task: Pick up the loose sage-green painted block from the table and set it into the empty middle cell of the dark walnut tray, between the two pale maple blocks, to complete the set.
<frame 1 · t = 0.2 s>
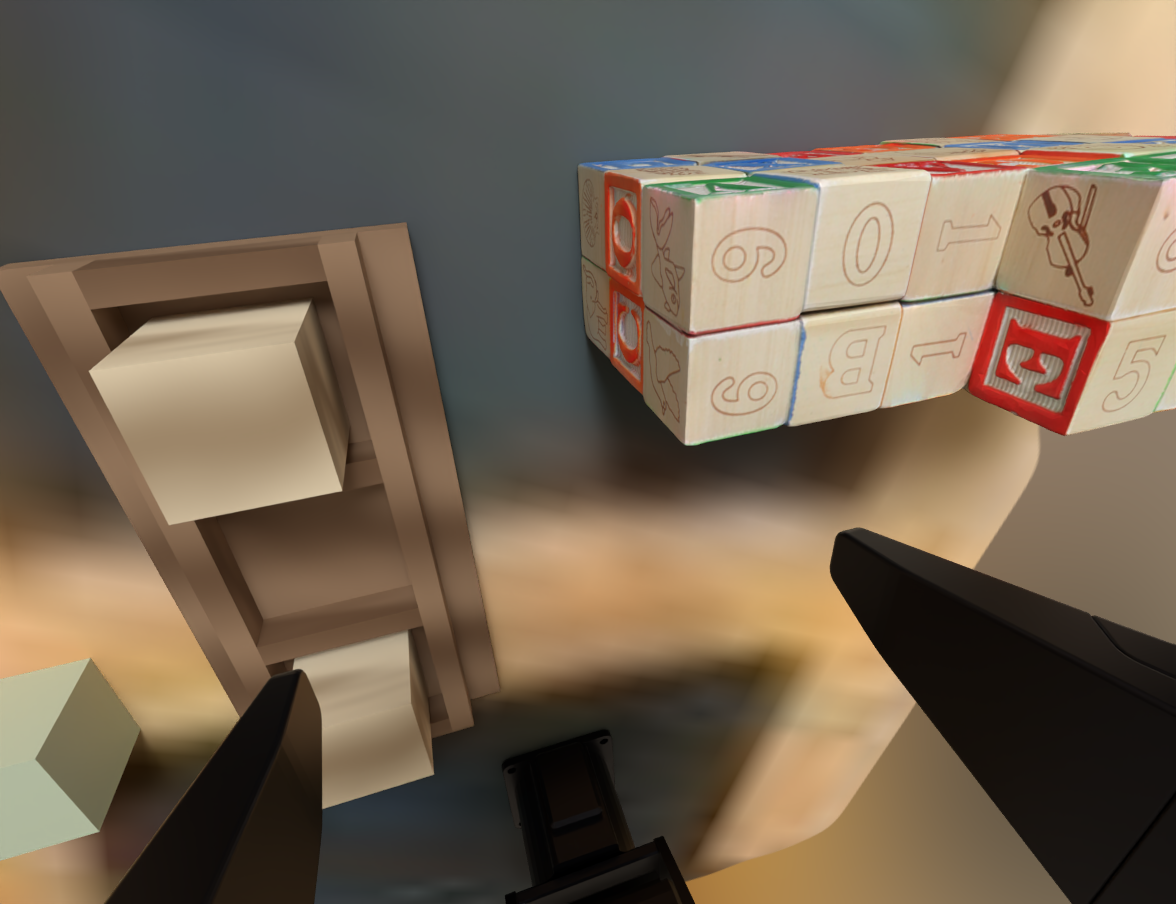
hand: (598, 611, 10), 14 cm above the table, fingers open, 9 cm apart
sage block: (54, 709, 24), on the table
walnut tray: (323, 528, 23), on the table
maple block 1: (259, 375, 19), point 1 cm above the table, touching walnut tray
stack of blocks: (827, 229, 24), on the table
maple block 2: (366, 666, 26), point 1 cm above the table, touching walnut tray
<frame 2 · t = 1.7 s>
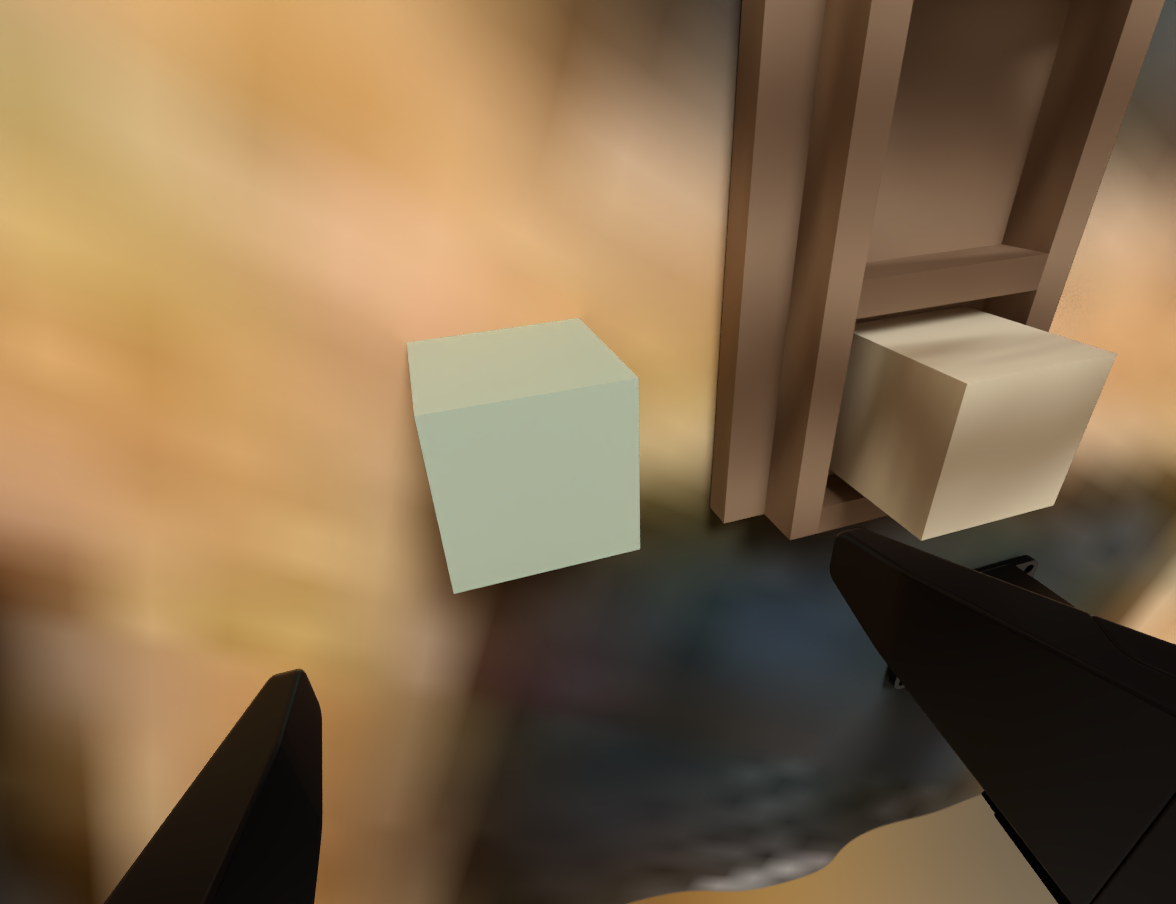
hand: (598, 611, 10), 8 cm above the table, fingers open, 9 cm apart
sage block: (505, 406, 16), on the table
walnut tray: (914, 135, 16), on the table
maple block 2: (888, 385, 19), point 1 cm above the table, touching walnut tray
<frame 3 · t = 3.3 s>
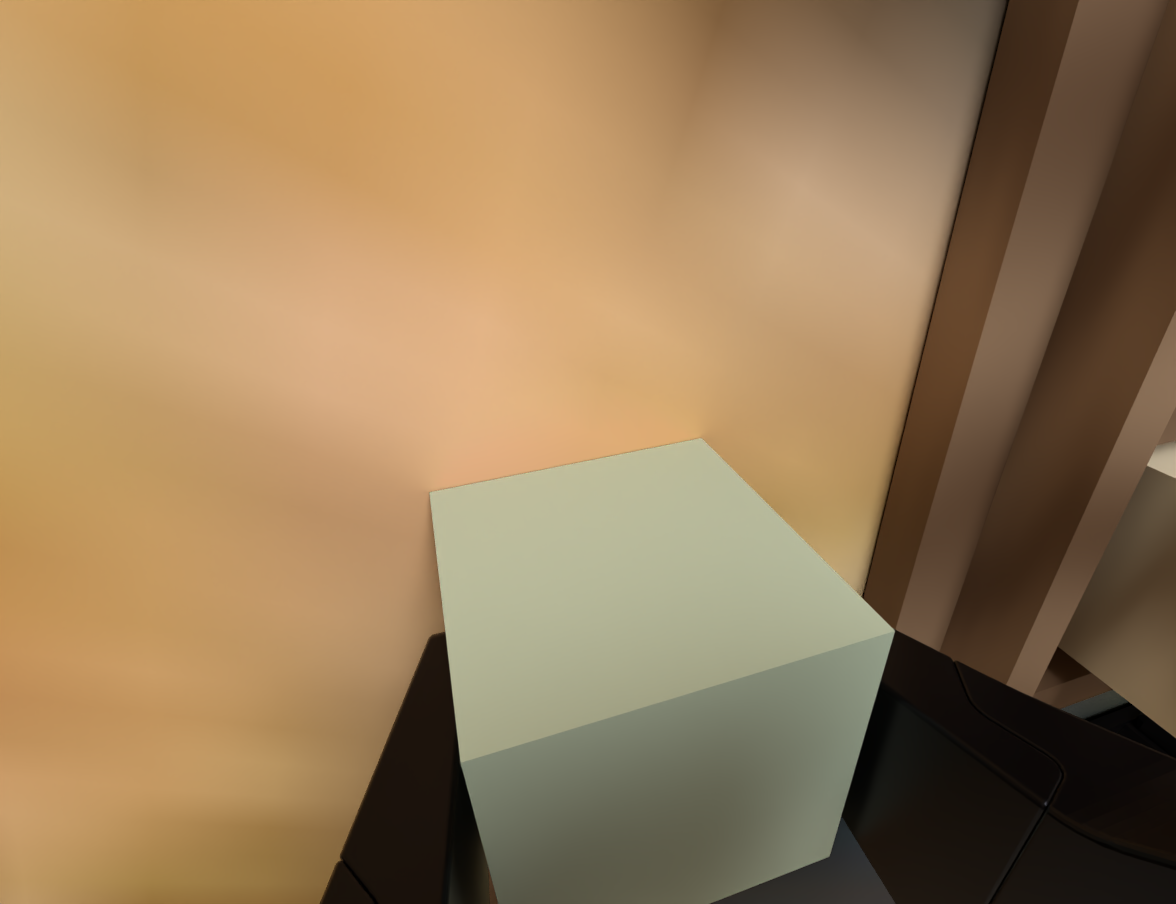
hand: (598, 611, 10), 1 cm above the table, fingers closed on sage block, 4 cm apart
sage block: (580, 571, 11), on the table, touching gripper
maple block 2: (1124, 508, 13), point 1 cm above the table, touching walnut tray
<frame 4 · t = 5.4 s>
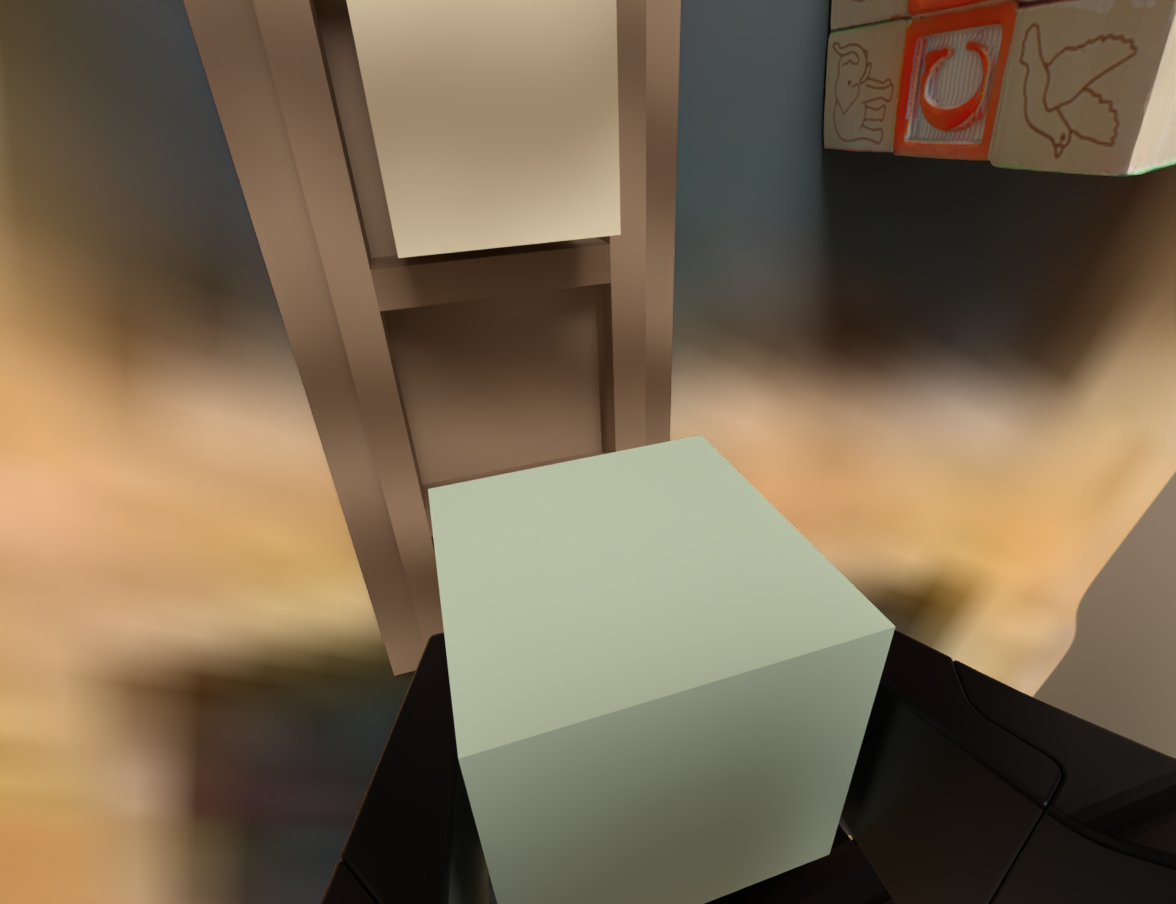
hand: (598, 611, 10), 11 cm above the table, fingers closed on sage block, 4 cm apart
sage block: (580, 568, 10), point 10 cm above the table, touching gripper
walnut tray: (499, 371, 19), on the table
maple block 1: (470, 118, 14), point 1 cm above the table, touching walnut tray
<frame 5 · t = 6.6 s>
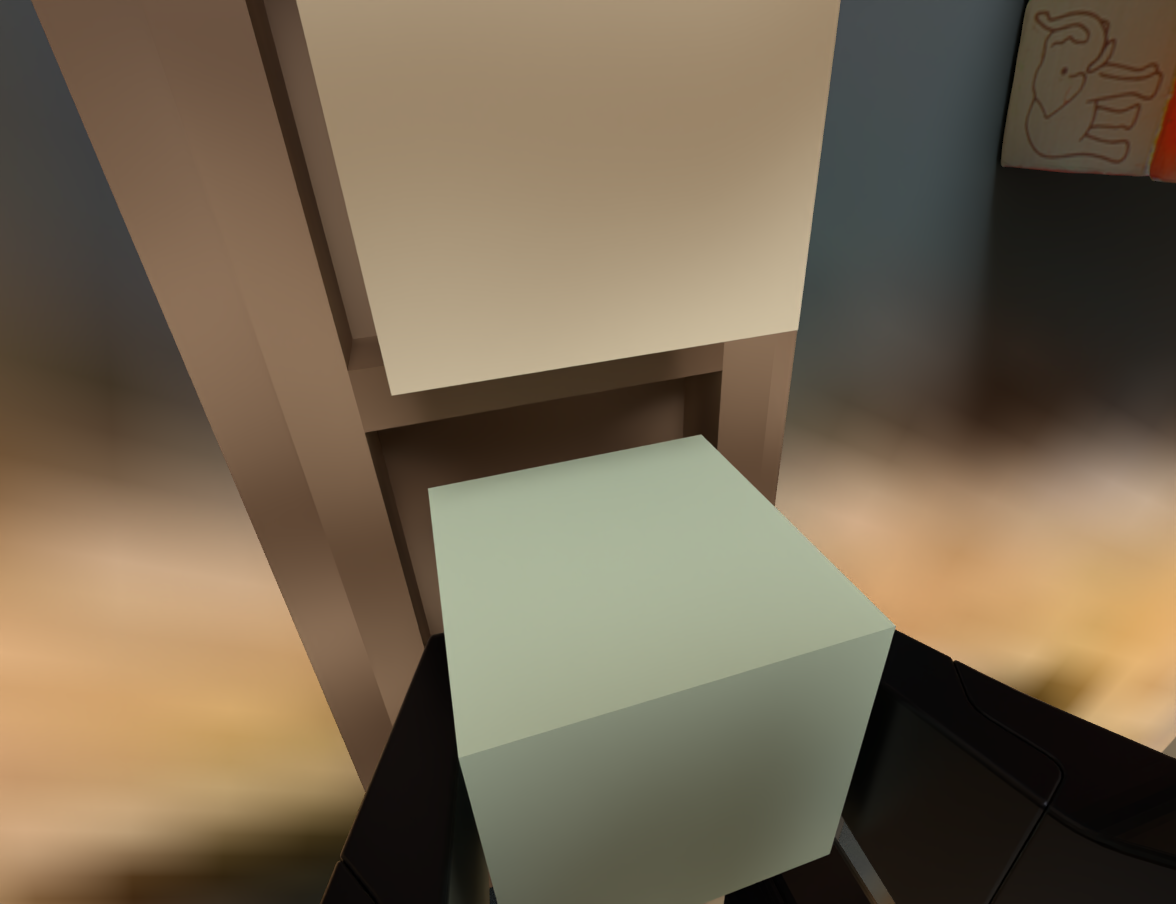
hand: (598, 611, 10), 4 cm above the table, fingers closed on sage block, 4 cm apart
sage block: (580, 568, 10), point 3 cm above the table, touching gripper
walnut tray: (539, 477, 13), on the table
maple block 1: (510, 118, 9), point 1 cm above the table, touching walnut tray
when the fingers open (4 cm above the table, at t = 7.3 s): sage block drops 2 cm, resting on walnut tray.
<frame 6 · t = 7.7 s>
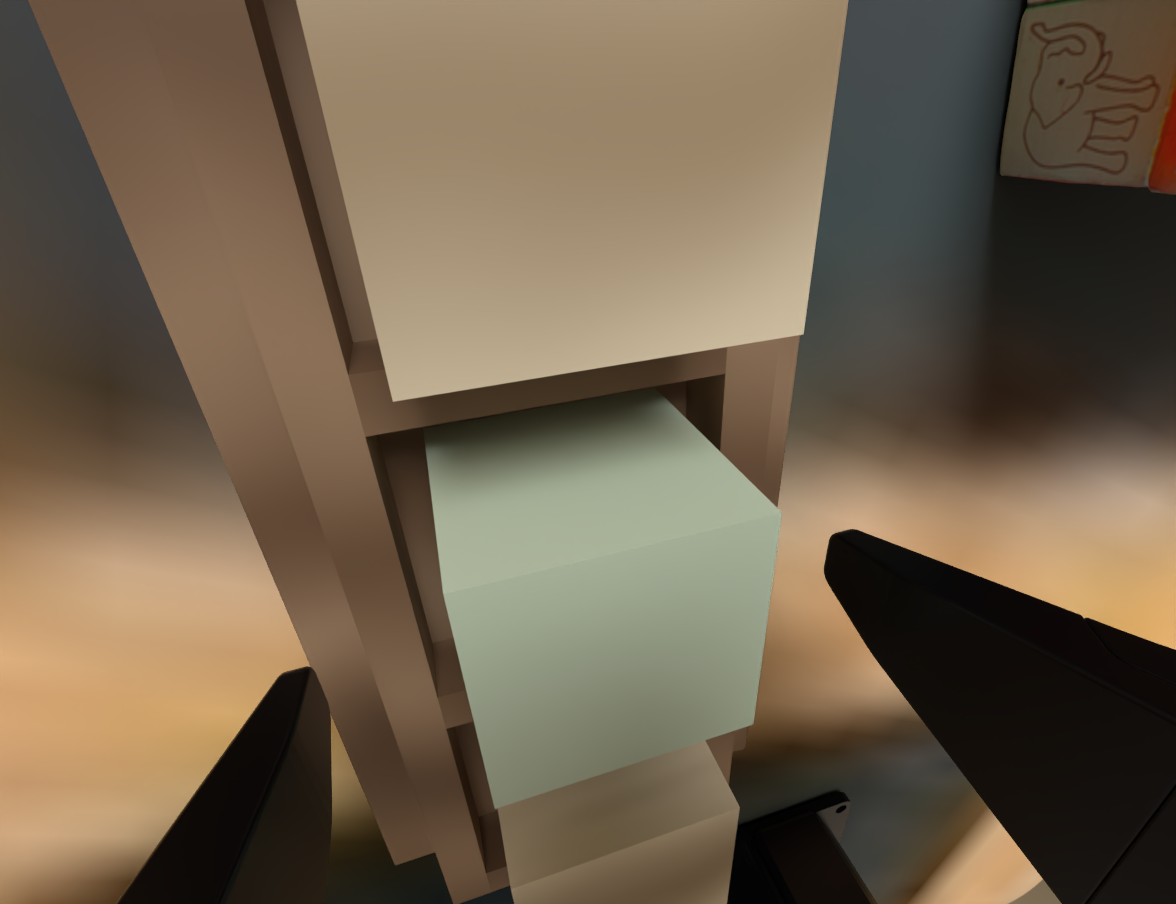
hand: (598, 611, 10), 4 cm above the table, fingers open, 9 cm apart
sage block: (553, 503, 12), point 1 cm above the table, touching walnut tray
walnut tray: (541, 480, 13), on the table
maple block 1: (512, 120, 9), point 1 cm above the table, touching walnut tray
maple block 2: (573, 718, 16), point 1 cm above the table, touching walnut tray
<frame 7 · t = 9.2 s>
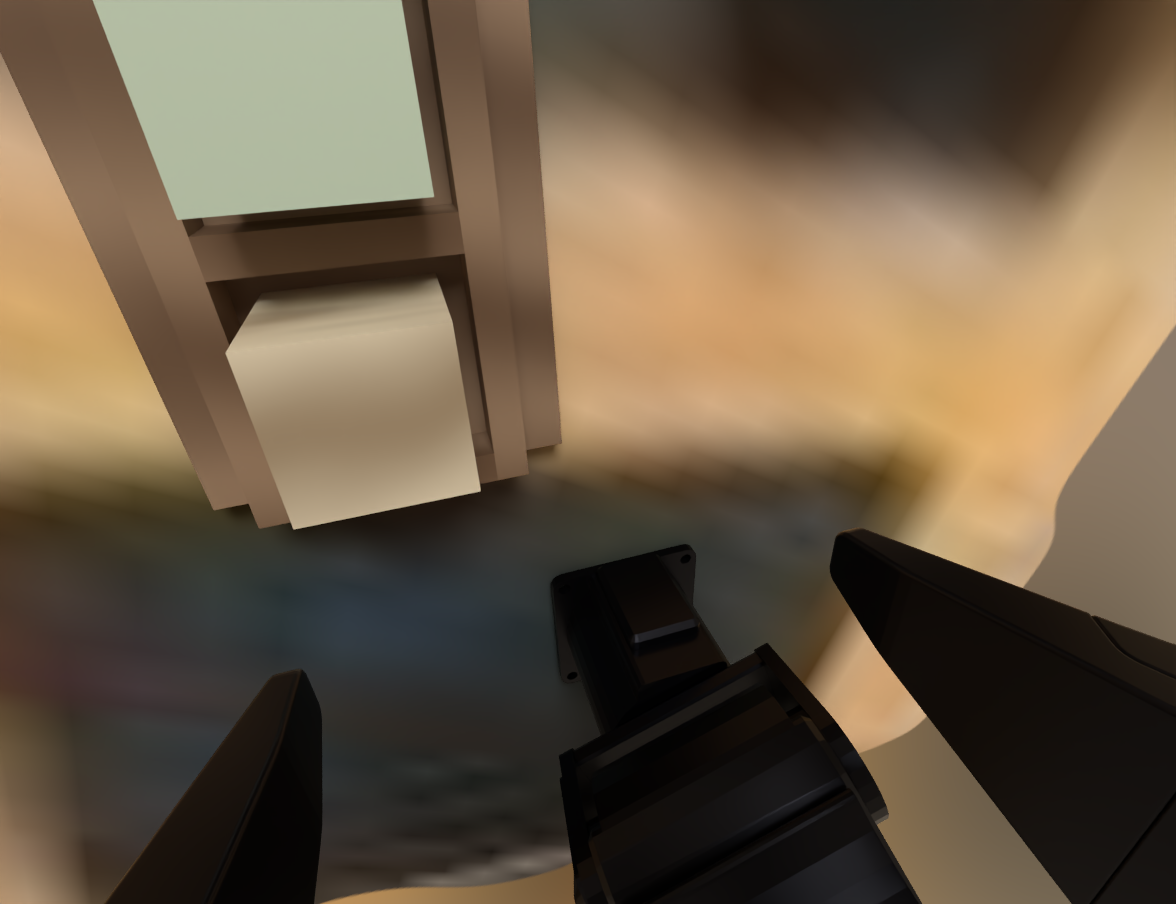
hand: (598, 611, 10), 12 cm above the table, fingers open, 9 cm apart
sage block: (301, 74, 13), point 1 cm above the table, touching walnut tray
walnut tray: (303, 76, 14), on the table
maple block 2: (370, 360, 17), point 1 cm above the table, touching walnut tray
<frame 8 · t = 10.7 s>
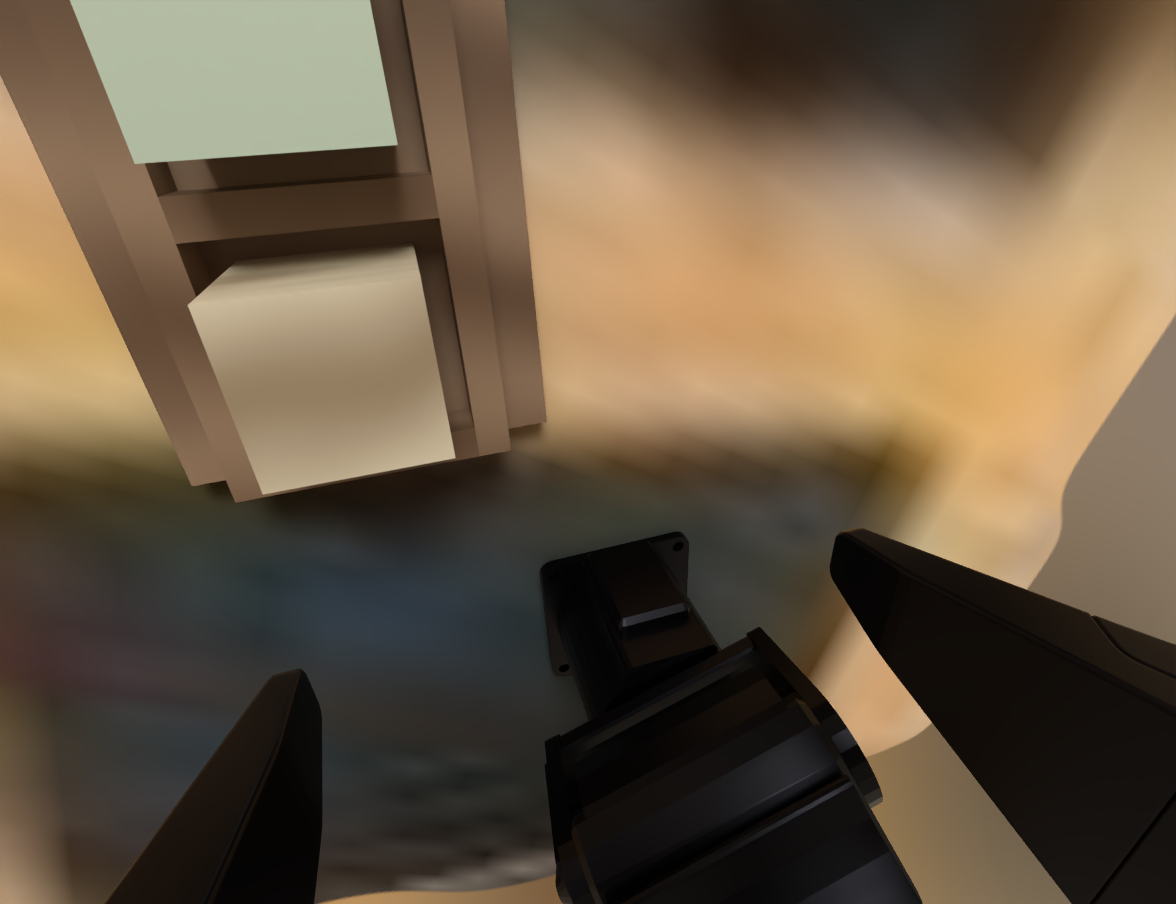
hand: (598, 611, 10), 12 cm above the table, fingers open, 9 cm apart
sage block: (272, 36, 13), point 1 cm above the table, touching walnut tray
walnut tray: (277, 42, 14), on the table
maple block 2: (348, 332, 17), point 1 cm above the table, touching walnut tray
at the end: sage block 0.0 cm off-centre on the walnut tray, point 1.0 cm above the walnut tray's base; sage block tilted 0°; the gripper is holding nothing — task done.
